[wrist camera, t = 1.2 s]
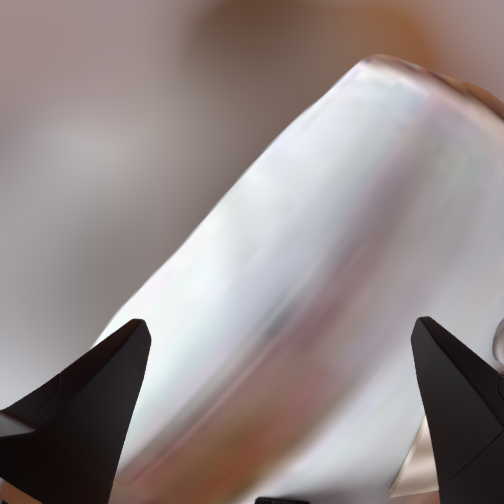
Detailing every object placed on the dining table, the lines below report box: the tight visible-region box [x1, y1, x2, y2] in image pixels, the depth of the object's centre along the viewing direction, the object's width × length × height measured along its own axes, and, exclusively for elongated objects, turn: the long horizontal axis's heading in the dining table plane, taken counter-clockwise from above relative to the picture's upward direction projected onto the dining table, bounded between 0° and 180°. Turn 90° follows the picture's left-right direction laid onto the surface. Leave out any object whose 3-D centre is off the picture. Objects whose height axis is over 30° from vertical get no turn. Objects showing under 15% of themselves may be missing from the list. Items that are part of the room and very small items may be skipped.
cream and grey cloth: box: [389, 376, 504, 497], centre depth 22 cm, size 16×22×1 cm
